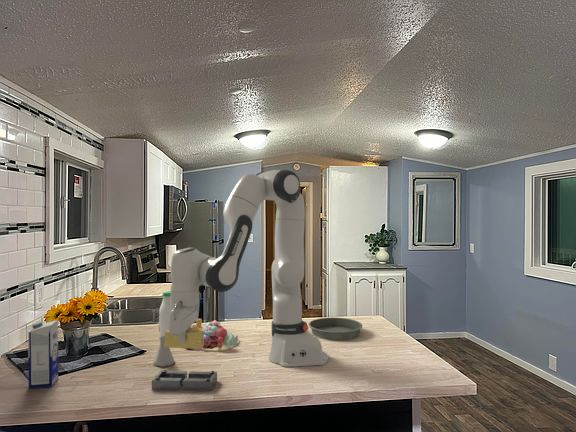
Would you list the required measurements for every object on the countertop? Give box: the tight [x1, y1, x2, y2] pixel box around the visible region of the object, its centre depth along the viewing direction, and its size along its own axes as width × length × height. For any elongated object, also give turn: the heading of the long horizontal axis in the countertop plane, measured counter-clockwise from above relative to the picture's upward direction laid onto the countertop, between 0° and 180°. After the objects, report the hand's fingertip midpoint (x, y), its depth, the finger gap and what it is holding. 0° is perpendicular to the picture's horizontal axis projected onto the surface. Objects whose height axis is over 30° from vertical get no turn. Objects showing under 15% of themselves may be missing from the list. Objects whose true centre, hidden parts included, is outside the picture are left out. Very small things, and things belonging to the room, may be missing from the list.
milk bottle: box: [158, 290, 175, 338], centre depth 194 cm, size 8×8×20 cm
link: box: [151, 369, 188, 391], centre depth 140 cm, size 9×8×3 cm
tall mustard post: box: [165, 330, 204, 349], centre depth 140 cm, size 12×3×5 cm, turn 87°
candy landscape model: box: [184, 318, 240, 353], centre depth 185 cm, size 25×24×9 cm
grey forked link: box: [182, 370, 218, 392], centre depth 140 cm, size 9×8×3 cm
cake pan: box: [308, 317, 363, 341], centre depth 199 cm, size 25×25×4 cm
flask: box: [153, 336, 176, 368], centre depth 159 cm, size 7×7×10 cm
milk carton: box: [27, 319, 59, 389], centre depth 141 cm, size 7×7×20 cm
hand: (184, 341), depth 140 cm, fingers closed on tall mustard post, 3 cm apart
